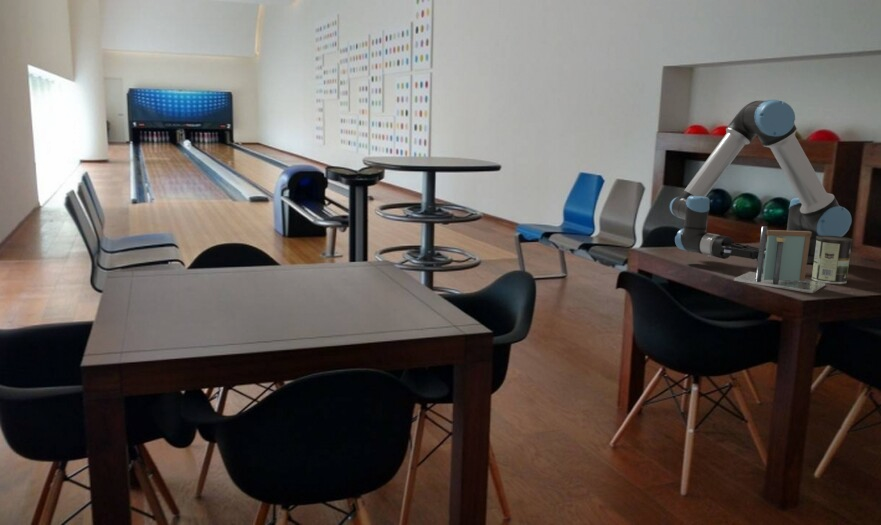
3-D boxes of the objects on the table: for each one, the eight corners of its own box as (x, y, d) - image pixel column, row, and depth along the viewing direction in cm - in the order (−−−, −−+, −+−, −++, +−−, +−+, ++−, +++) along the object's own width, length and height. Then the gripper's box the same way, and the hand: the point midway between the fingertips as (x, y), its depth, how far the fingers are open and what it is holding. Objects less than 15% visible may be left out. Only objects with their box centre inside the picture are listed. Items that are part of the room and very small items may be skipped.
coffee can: (840, 278, 243) (846, 236, 240) (851, 285, 233) (857, 241, 230) (807, 276, 245) (812, 234, 242) (816, 283, 235) (821, 239, 232)
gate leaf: (763, 279, 230) (769, 230, 227) (761, 278, 231) (766, 229, 228) (805, 281, 230) (811, 232, 227) (802, 279, 232) (808, 231, 228)
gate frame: (812, 293, 220) (820, 233, 217) (733, 280, 235) (740, 224, 231) (824, 285, 231) (832, 228, 228) (749, 273, 246) (755, 220, 242)
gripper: (728, 255, 254) (793, 268, 235) (703, 258, 247) (768, 272, 228) (731, 234, 253) (796, 245, 234) (706, 236, 245) (771, 248, 226)
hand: (782, 258), depth 231 cm, fingers closed
